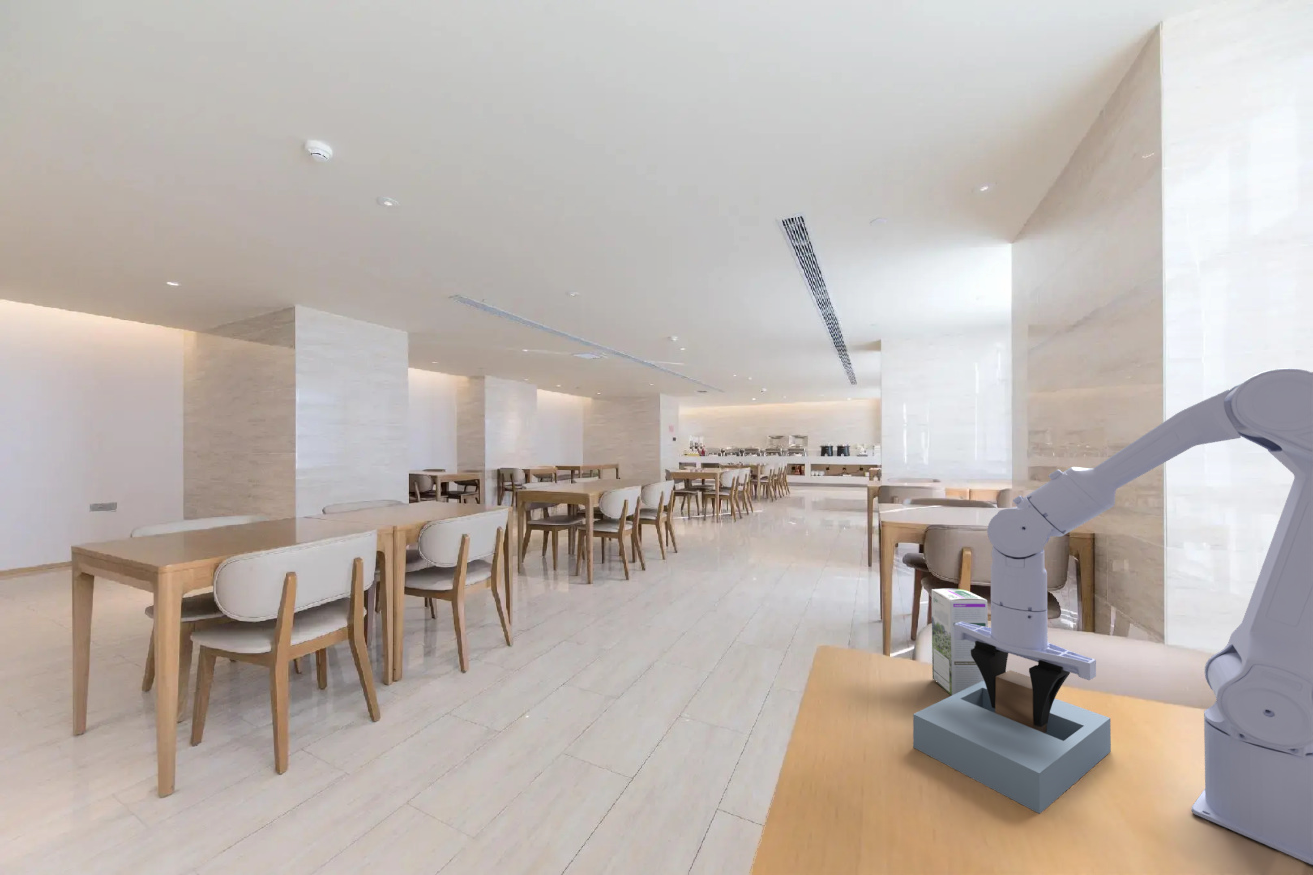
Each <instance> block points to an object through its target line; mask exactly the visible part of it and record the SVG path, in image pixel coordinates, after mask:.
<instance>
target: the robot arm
mask: <svg viewBox="0 0 1313 875" xmlns="http://www.w3.org/2000/svg"><path fill="white" fill-rule="evenodd" d="M1241 437H1242V438H1244V439H1246V440H1248V441H1250V442H1252V443H1254V444H1257V445H1258V446H1260V447H1262V448H1264V449H1266V450H1267V451H1268V452H1269V453H1270V454H1271V455H1272V456H1273V457H1274V458H1275V459H1277V460H1278V461H1279V462H1280V463H1281V464H1282V465H1283V466H1284V467H1285V468H1286V469H1288V471H1290V473H1292V474H1293V477H1294V479H1293V481H1292V484H1291V487H1290V490H1289V492H1288V495H1287V497H1286V501H1285V504H1284V506H1283V508H1282V512H1281V515H1280V517H1279V520H1278V522H1277V525H1276V527H1275V528H1276V529H1275V531H1274V533H1273V537H1272V539H1271V541H1270V545H1269V547H1268V550H1267V553H1266V556H1265V558H1264V561H1263V564H1262V566H1261V569H1260V572H1259V575H1258V578H1257V580H1256V583H1255V585H1254V589H1253V592H1252V594H1251V596H1250V599H1249V601H1248V602H1249V603H1248V604H1247V608H1246V611H1245V613H1244V616H1243V618H1242V621H1241V623H1240V624H1239V626H1238V627H1236V628H1235V630H1234V631H1233V632H1232V633H1231V634H1230V637H1229V640H1228V642H1227V644H1226V645H1225V647H1224V648H1223V649H1221V650H1220V651H1218V652H1217V653H1214V654H1213V655H1212V656H1210V657H1209V658H1208V660H1207V661H1206V662H1205V666H1204V669H1203V670H1204V678H1205V680H1206V682H1207V684H1208V686H1209V688H1210V689H1211V690H1212V691H1213V693H1214V694H1213V695H1214V696H1215V698H1216V700H1215V702H1214V703H1213V704H1212V705H1211V706H1210V707H1208V708H1206V709H1205V710H1204V711H1203V723H1204V724H1203V725H1204V726H1203V727H1204V729H1203V731H1204V734H1203V735H1204V736H1203V737H1204V742H1203V743H1204V789H1203V790H1202V792H1201V793H1200V794H1199V796H1198V798H1197V799H1196V801H1195V802H1194V803H1193V804H1192V806H1191V812H1192V813H1193V814H1194V815H1196V816H1197V817H1200V818H1202V819H1205V820H1207V821H1210V822H1212V823H1214V824H1217V825H1219V826H1221V827H1223V828H1225V829H1229V830H1230V831H1233V832H1234V833H1237V834H1239V835H1242V836H1245V837H1246V838H1249V839H1251V840H1253V841H1256V842H1258V843H1260V844H1263V845H1265V846H1267V847H1269V848H1272V849H1275V850H1277V851H1279V852H1281V853H1284V854H1286V855H1289V856H1291V857H1293V858H1296V859H1297V860H1300V861H1302V862H1305V863H1306V864H1309V865H1311V866H1313V371H1311V370H1307V369H1302V368H1301V369H1300V368H1292V367H1291V368H1287V367H1286V368H1277V369H1276V368H1275V369H1270V370H1266V371H1263V372H1260V373H1257V374H1255V375H1252V376H1250V377H1249V378H1247V379H1246V380H1245V381H1243V382H1242V383H1239V384H1238V385H1235V386H1233V387H1231V388H1230V389H1226V390H1224V391H1222V392H1219V393H1217V394H1215V395H1212V396H1211V397H1208V398H1206V399H1204V400H1202V401H1200V402H1198V403H1195V404H1193V405H1191V406H1189V407H1186V408H1184V409H1183V410H1181V411H1178V412H1177V413H1175V414H1174V415H1172V416H1171V417H1169V418H1168V419H1166V420H1165V421H1163V422H1162V423H1161V424H1159V425H1157V426H1156V427H1154V428H1153V429H1151V430H1149V431H1148V432H1147V433H1145V434H1144V435H1142V436H1141V437H1139V438H1137V439H1136V440H1133V442H1130V443H1129V444H1128V445H1127V446H1125V447H1123V448H1122V449H1121V450H1119V451H1117V452H1116V453H1114V454H1113V455H1112V456H1110V457H1109V458H1107V459H1106V460H1104V461H1102V462H1101V463H1099V464H1097V465H1096V466H1095V467H1091V468H1087V467H1079V466H1072V467H1069V468H1067V469H1066V470H1064V471H1061V469H1056V470H1054V471H1053V472H1051V473H1050V474H1048V478H1049V479H1050V480H1049V481H1047V482H1046V483H1044V484H1042V485H1041V486H1039V487H1038V488H1036V489H1034V490H1033V491H1032V492H1030V493H1028V494H1026V495H1025V496H1024V497H1023V496H1022V495H1017V496H1016V497H1015V498H1013V499H1012V502H1013V503H1014V504H1015V507H1013V506H1012V507H1009V508H1004V509H1001V510H999V511H998V512H997V513H996V514H995V515H994V516H993V517H992V518H991V519H990V521H989V523H988V526H987V530H986V531H987V532H986V533H987V537H988V540H989V542H990V543H991V544H990V545H992V546H991V548H992V550H991V555H990V556H991V558H992V559H991V564H990V627H989V626H988V627H984V626H979V625H974V624H969V623H965V622H959V623H956V624H954V638H956V639H959V640H964V639H965V640H968V641H971V642H975V646H974V649H971V656H972V658H973V659H974V661H975V663H976V664H977V666H978V668H979V670H980V672H981V674H982V677H983V679H984V682H985V684H986V687H987V691H988V694H989V698H990V702H991V706H992V708H994V709H995V695H996V676H998V675H1000V674H1003V673H1005V672H1007V663H1008V657H1009V654H1011V655H1013V656H1017V657H1020V658H1023V659H1027V660H1029V661H1033V662H1037V665H1033V666H1031V667H1029V669H1028V673H1029V677H1030V678H1031V682H1032V689H1033V698H1034V702H1033V719H1034V725H1037V726H1039V727H1042V726H1044V725H1045V724H1047V723H1048V718H1049V714H1050V710H1051V707H1052V704H1053V701H1054V699H1056V696H1057V695H1058V692H1059V691H1060V689H1061V687H1062V686H1063V684H1064V682H1065V681H1066V680H1067V678H1068V677H1069V675H1070V674H1071V673H1072V674H1075V675H1077V676H1078V678H1081V679H1084V680H1088V681H1090V680H1093V679H1094V678H1096V677H1097V660H1096V658H1091V657H1088V656H1085V655H1082V654H1080V653H1077V652H1074V651H1071V650H1069V649H1066V648H1064V647H1061V646H1059V645H1056V644H1053V643H1050V642H1049V640H1048V639H1049V636H1048V629H1049V628H1048V626H1049V625H1048V623H1049V622H1048V621H1049V620H1048V618H1049V617H1048V571H1047V569H1046V567H1045V566H1046V565H1045V563H1046V562H1045V561H1046V560H1045V558H1046V557H1045V552H1046V551H1045V549H1044V548H1045V547H1046V544H1047V543H1048V541H1049V540H1050V538H1051V537H1060V538H1061V537H1063V536H1065V535H1067V534H1068V533H1070V532H1071V531H1074V530H1075V529H1077V528H1079V527H1081V526H1082V525H1084V524H1086V523H1088V522H1089V521H1091V520H1092V519H1095V518H1097V517H1098V516H1100V515H1102V514H1103V513H1105V512H1107V511H1108V510H1110V509H1112V508H1114V507H1115V505H1116V495H1117V494H1116V492H1117V490H1118V489H1119V488H1121V487H1122V486H1125V485H1127V484H1128V483H1130V482H1132V481H1135V480H1136V479H1137V478H1140V477H1141V476H1143V475H1145V474H1147V473H1148V472H1150V471H1151V470H1153V469H1156V468H1157V467H1159V466H1162V465H1163V464H1165V463H1167V461H1170V460H1172V459H1174V458H1175V457H1178V456H1179V455H1181V454H1182V453H1184V452H1186V451H1188V450H1190V449H1191V448H1193V447H1196V446H1200V445H1207V444H1212V443H1218V442H1224V441H1229V440H1235V439H1236V440H1237V439H1240V438H1241Z"/></svg>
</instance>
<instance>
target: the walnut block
mask: <svg viewBox="0 0 1313 875" xmlns="http://www.w3.org/2000/svg"><path fill="white" fill-rule="evenodd" d="M1033 702H1034V698H1033V689H1032V682H1031V678H1030V675H1026V674H1022V673H1020V672H1017V671H1014V670H1010V669H1009V670H1008V671H1007V670H1006V672H1005V673H1003V674H1000V675H998V676H996V695H995V713H996V714H999V715H1001V716H1003V717H1006V718H1008V719H1011V720H1013V721H1016V722H1018V723H1021V724H1023V725H1025V726H1028V727H1030V728H1033V729H1035V730H1038V731H1040V732H1043V733H1046V732H1047V724H1045V725H1044V726H1042V727H1039V726H1037V725H1034V719H1033Z"/></svg>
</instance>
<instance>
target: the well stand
mask: <svg viewBox="0 0 1313 875" xmlns="http://www.w3.org/2000/svg"><path fill="white" fill-rule="evenodd" d="M912 715H913V716H912V718H913V719H912V720H913V723H912V727H913V728H912V733H913V734H912V736H913V737H912V739H913V740H912V741H913V742H912V744H913V748H914V749H916V750H918V751H919V752H922V753H923V754H925V755H927V756H929V757H931V758H933V759H934V760H936V761H939V762H940V763H942V764H945V765H946V766H948V767H950V768H952V769H954V770H955V771H956V772H957V771H958V772H959V773H961V774H963V775H965V776H966V777H968V778H971V779H973V780H974V781H976V782H978V783H980V784H982V785H984V786H986V787H987V788H990V789H991V790H994V791H995V792H997V793H999V794H1001V795H1002V796H1005V797H1007V798H1009V799H1010V800H1012V801H1014V802H1016V803H1018V804H1021V805H1022V806H1024V807H1026V808H1028V809H1029V810H1031V811H1033V812H1036V813H1037V814H1041V813H1042V812H1044V811H1045V810H1046V809H1047V808H1048V807H1050V805H1052V804H1053V803H1054V802H1055V801H1056V800H1057V799H1058V798H1060V797H1061V796H1062V795H1063V794H1064V793H1065V792H1066V791H1068V789H1070V788H1071V787H1072V786H1073V785H1075V783H1077V782H1078V781H1079V780H1080V779H1081V778H1082V777H1084V776H1085V775H1086V774H1087V773H1088V772H1089V771H1090V770H1091V769H1093V768H1094V767H1095V766H1096V765H1097V764H1099V762H1100V761H1102V760H1103V759H1104V758H1105V757H1106V756H1107V755H1108V754H1110V753H1111V751H1112V748H1111V746H1112V744H1111V738H1112V737H1111V726H1112V725H1111V717H1108V716H1106V715H1103V714H1100V713H1097V712H1095V711H1092V710H1090V709H1086V708H1083V707H1080V706H1077V705H1075V704H1072V703H1070V702H1066V701H1064V700H1061V699H1057V698H1055V699H1054V701H1053V704H1052V707H1051V710H1050V714H1049V718H1048V723H1047V732H1046V733H1043V732H1040V731H1038V730H1035V729H1033V728H1030V727H1028V726H1025V725H1023V724H1021V723H1018V722H1016V721H1013V720H1011V719H1008V718H1006V717H1003V716H1001V715H999V714H996V713H995V709H994V708H992V706H991V702H990V698H989V694H988V691H987V687H986V684H985V682H984V680H983V681H981V682H979V683H977V684H975V685H973V686H971V687H969V688H967V689H965V690H962V691H960V692H958V693H956V694H954V695H950V696H948V697H946V698H944V699H942V700H940V701H938V702H936V703H933V704H931V705H929V706H927V707H925V708H923V709H921V710H919V711H916V712H915V713H913V714H912Z"/></svg>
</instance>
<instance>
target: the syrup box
mask: <svg viewBox="0 0 1313 875" xmlns="http://www.w3.org/2000/svg"><path fill="white" fill-rule="evenodd" d="M988 615H989V613H988V600H987V599H986V598H983V597H982V596H979V595H977V594H976V593H973V592H971V591H968V590H967V589H962V588H961V589H960V588H934V589H933V588H931V653H932V654H931V658H932V659H931V660H932V661H931V662H932V663H931V664H932V665H931V666H932V668H931V669H932V680H933V679H934V680H935V681H937V682H936V684H937V685H938V686H940V687H941V688H943V690H945V691H946V693H948V694H949V695H950V696H952V695H954V694H956V693H958V692H960V691H962V690H965V689H967V688H969V687H971V686H973V685H975V684H977V683H979V682H981V681H983V680H984V679H983V677H982V674H981V672H980V670H979V668H978V666H977V664H976V663H975V661H974V659H973V658H972V656H971V649H974V646H975V642H971V641H968V640H965V639H964V640H959V639H956V638H954V624H956V623H959V622H965V623H969V624H974V625H979V626H984V627H989V620H988V618H989V617H988ZM934 680H933V681H934ZM935 681H934V682H935Z"/></svg>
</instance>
